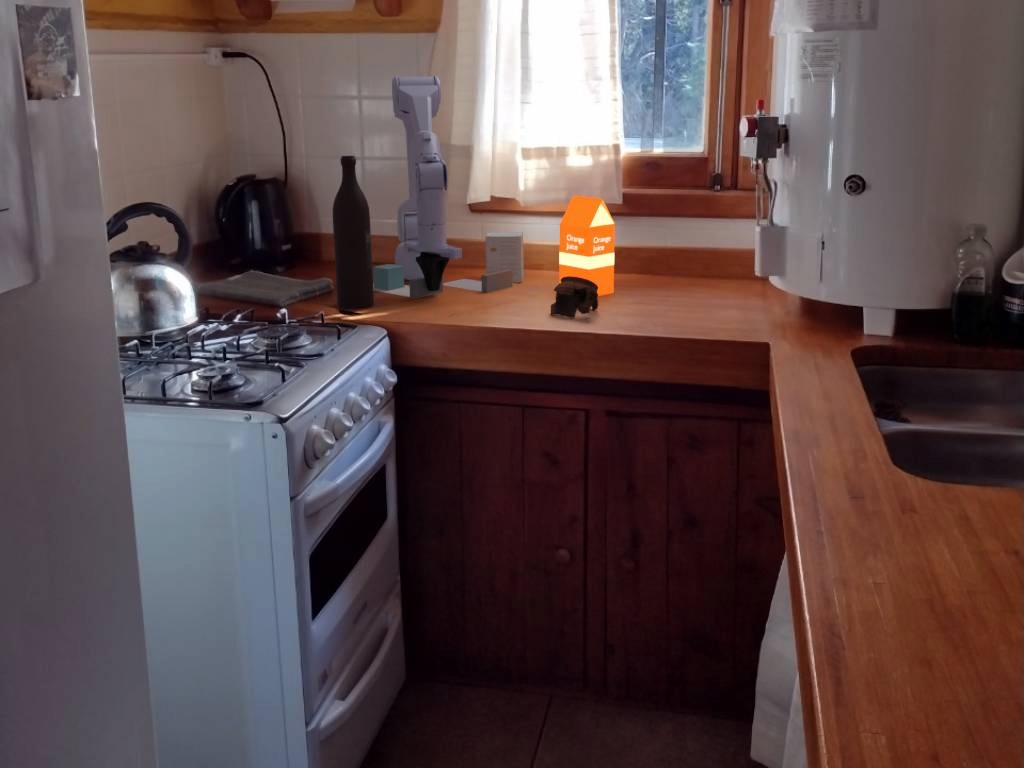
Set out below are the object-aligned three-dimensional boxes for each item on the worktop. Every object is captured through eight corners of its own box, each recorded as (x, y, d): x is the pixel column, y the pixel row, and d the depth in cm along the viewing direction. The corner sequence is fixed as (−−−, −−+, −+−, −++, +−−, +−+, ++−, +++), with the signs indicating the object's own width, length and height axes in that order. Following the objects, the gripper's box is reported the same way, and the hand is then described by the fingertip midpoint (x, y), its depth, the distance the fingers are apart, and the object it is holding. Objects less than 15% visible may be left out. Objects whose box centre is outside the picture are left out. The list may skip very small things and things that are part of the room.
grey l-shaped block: (438, 288, 228) (438, 268, 226) (464, 283, 233) (464, 262, 232) (487, 297, 219) (486, 275, 217) (512, 291, 225) (512, 270, 223)
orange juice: (588, 298, 219) (589, 200, 213) (558, 291, 225) (558, 196, 219) (614, 292, 224) (616, 197, 218) (584, 286, 230) (585, 193, 224)
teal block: (374, 287, 224) (373, 266, 223) (389, 284, 228) (388, 263, 226) (388, 290, 221) (387, 269, 220) (404, 287, 225) (403, 266, 223)
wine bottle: (375, 314, 206) (367, 157, 197) (338, 316, 205) (329, 158, 196) (373, 307, 212) (366, 154, 204) (337, 308, 211) (329, 155, 203)
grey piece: (356, 291, 226) (355, 270, 224) (384, 285, 231) (383, 265, 230) (415, 302, 214) (414, 280, 213) (443, 296, 220) (442, 275, 219)
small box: (524, 278, 240) (523, 231, 237) (521, 283, 234) (521, 235, 231) (488, 278, 240) (488, 231, 237) (485, 283, 235) (485, 235, 232)
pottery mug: (537, 315, 206) (548, 275, 208) (576, 331, 211) (586, 292, 212) (572, 310, 196) (583, 269, 197) (611, 327, 201) (622, 286, 202)
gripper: (392, 222, 214) (394, 288, 217) (443, 229, 204) (445, 298, 208) (417, 218, 219) (419, 283, 223) (468, 224, 210) (470, 292, 213)
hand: (433, 290), depth 216 cm, fingers closed
